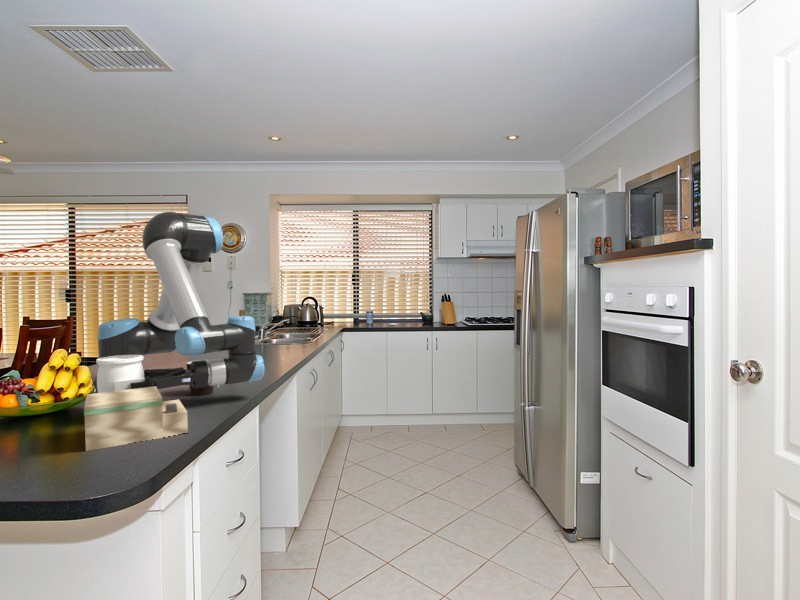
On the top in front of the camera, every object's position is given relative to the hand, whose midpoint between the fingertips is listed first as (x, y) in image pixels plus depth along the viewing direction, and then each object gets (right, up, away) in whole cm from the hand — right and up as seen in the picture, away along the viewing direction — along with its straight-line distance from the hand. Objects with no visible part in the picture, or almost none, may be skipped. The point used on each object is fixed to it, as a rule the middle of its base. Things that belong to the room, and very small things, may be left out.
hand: (114, 383), depth 114 cm
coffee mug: (+11, -9, +29) cm, 32 cm away
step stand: (+13, -9, -12) cm, 20 cm away
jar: (+1, -9, +1) cm, 9 cm away
